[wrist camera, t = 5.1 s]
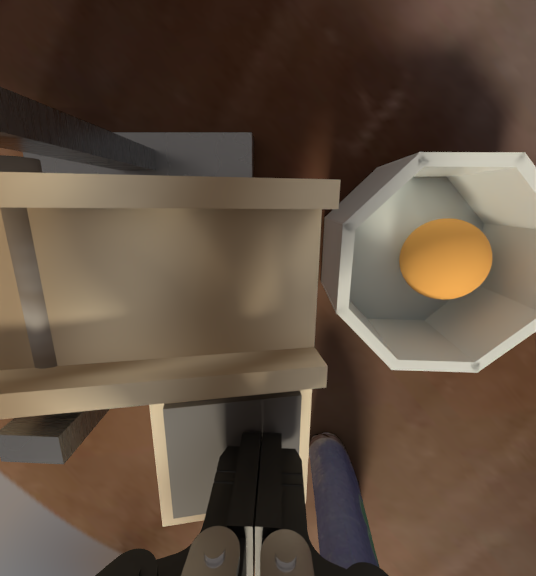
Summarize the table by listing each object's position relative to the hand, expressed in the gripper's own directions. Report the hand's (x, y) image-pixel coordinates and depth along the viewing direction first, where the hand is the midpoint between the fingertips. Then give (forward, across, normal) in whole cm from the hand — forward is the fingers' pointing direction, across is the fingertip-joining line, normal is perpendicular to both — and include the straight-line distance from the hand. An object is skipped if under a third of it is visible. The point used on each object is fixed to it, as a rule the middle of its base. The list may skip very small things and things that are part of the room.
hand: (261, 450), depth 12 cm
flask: (+9, -5, +10) cm, 14 cm away
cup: (+8, -8, -6) cm, 13 cm away
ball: (+6, -9, -6) cm, 12 cm away
